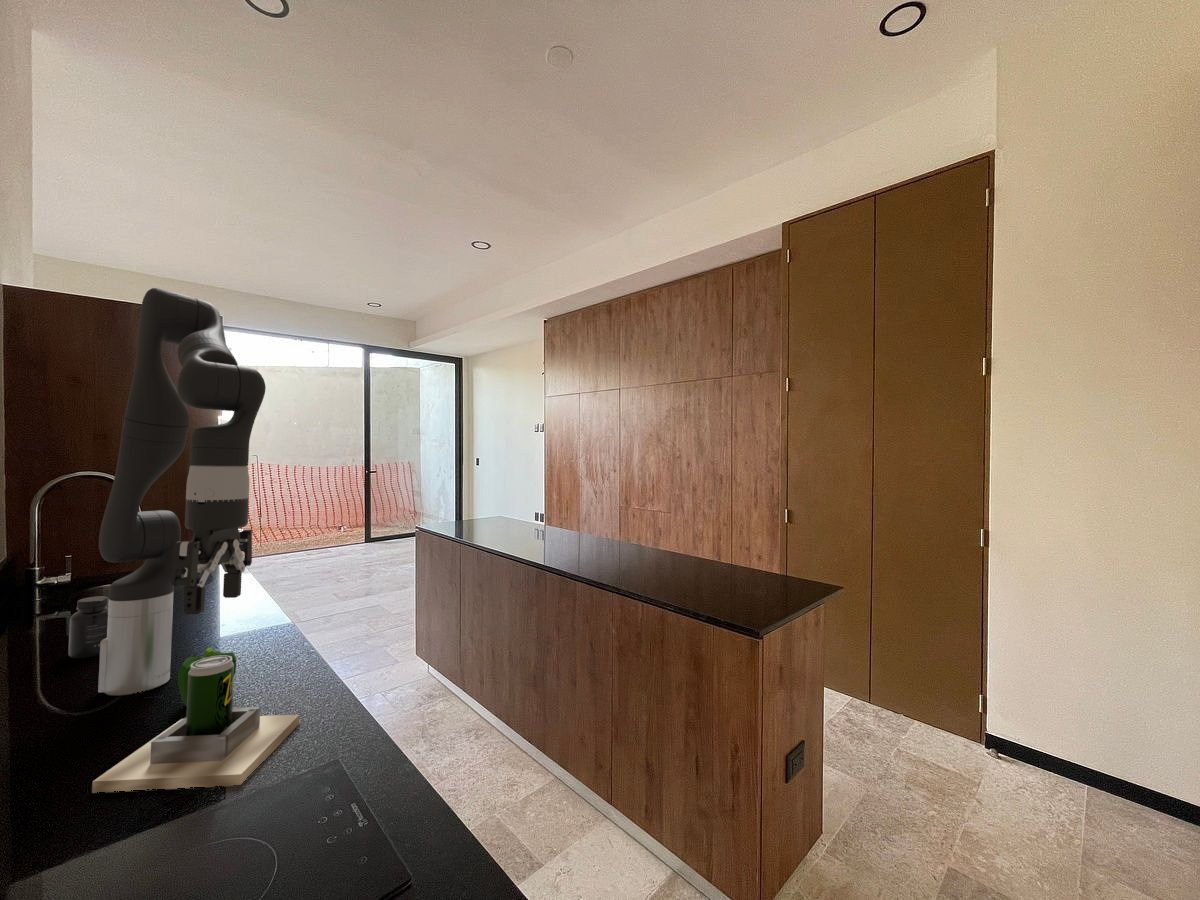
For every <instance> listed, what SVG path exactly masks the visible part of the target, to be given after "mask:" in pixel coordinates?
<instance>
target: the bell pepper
mask: <svg viewBox="0 0 1200 900" xmlns="http://www.w3.org/2000/svg"><path fill="white" fill-rule="evenodd" d="M219 655H227V656H231V657H232V662H233V664H234V676H235V674H236V668H237V657H236V656H235V654H234V652H233V651H232V652H230V651H229V652H221V651H217V650H216V651H214V649H213V648H212V647H207V648H206V649H205V652H204V656H203V657H202V656H189V657H187V658H186V659H184V661H183V663H182V664H181V666H180V667H179V669H178V671H177V684H178V690H179V694H180V698H181V702H182V703H183V705H184V706H185V707H187V692H188V672H189V670H190V669H191V664H192V663H194V662H195V661H198V660H200V659H203V658H207V657H212V656H219Z"/></svg>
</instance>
